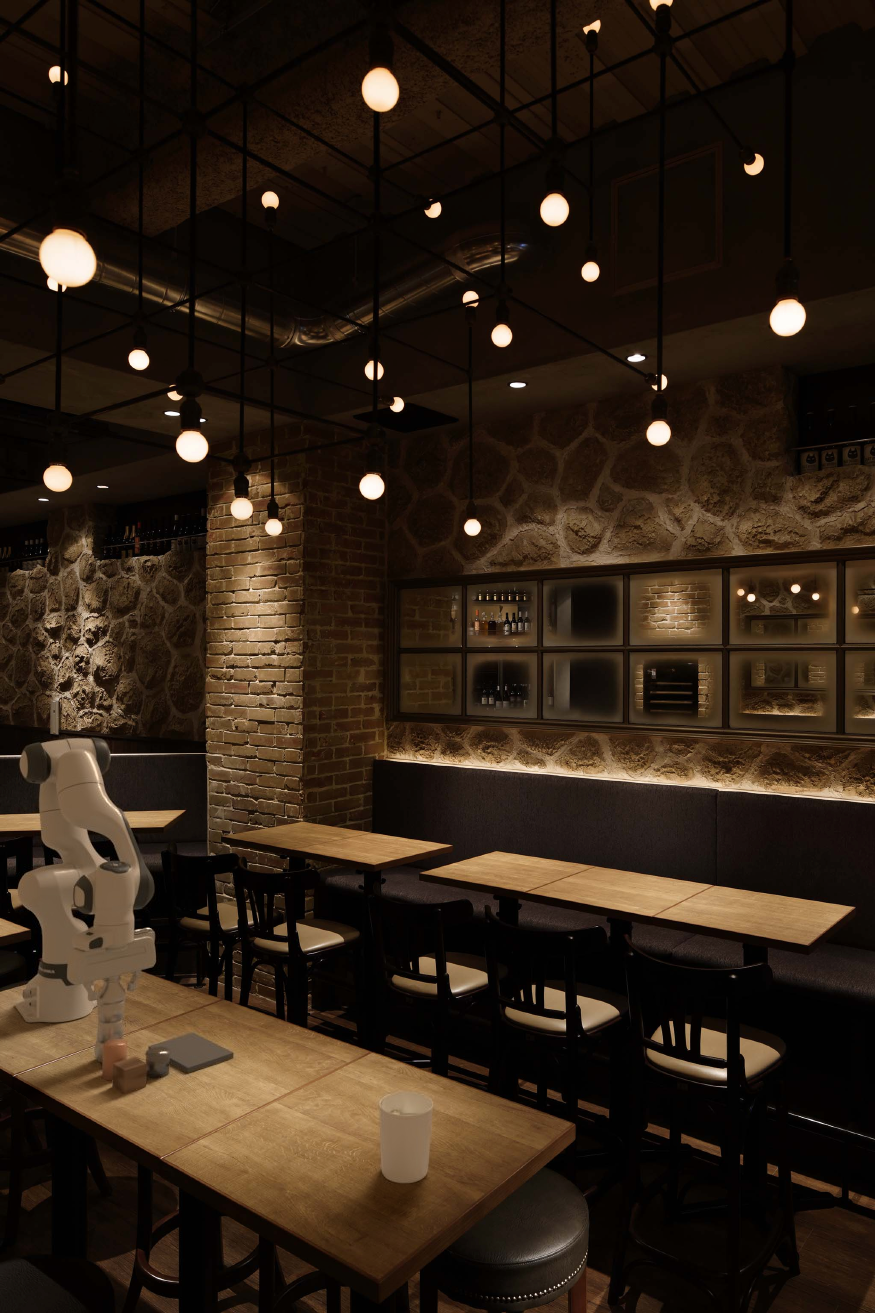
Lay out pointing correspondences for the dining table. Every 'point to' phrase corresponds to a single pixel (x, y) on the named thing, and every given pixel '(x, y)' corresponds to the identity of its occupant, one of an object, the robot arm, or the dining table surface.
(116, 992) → the plastic bottle
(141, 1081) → the walnut block
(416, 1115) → the candle holder
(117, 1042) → the terracotta jar
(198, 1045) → the charcoal board
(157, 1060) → the dark metal tin
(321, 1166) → the dining table surface
